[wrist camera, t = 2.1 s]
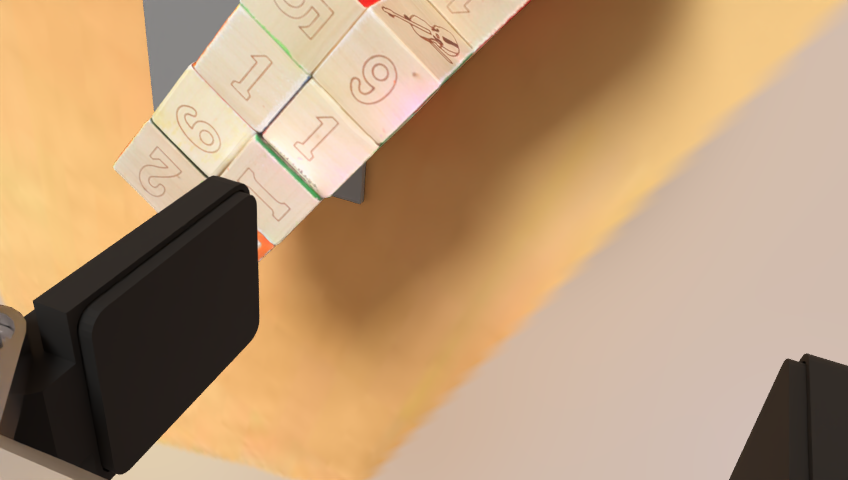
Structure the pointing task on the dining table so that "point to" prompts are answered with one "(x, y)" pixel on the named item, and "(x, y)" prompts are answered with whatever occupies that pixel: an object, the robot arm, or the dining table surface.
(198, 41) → the mat
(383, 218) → the dining table surface
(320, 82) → the stack of blocks
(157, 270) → the robot arm
